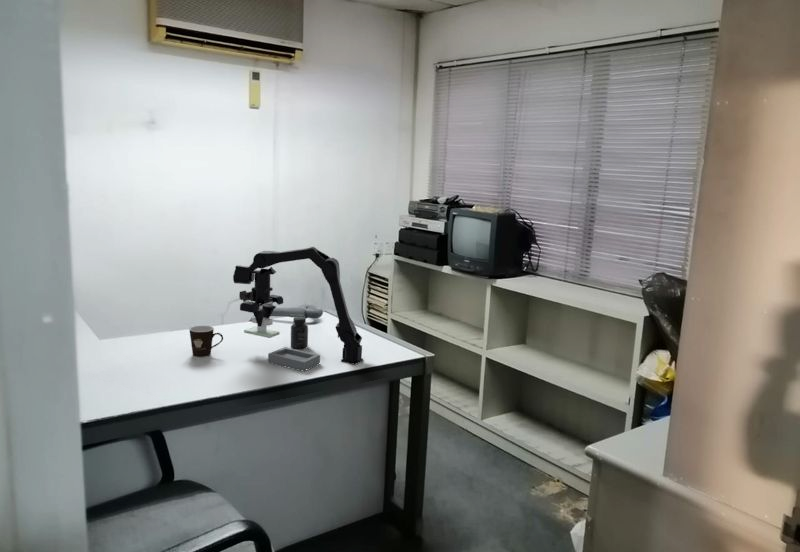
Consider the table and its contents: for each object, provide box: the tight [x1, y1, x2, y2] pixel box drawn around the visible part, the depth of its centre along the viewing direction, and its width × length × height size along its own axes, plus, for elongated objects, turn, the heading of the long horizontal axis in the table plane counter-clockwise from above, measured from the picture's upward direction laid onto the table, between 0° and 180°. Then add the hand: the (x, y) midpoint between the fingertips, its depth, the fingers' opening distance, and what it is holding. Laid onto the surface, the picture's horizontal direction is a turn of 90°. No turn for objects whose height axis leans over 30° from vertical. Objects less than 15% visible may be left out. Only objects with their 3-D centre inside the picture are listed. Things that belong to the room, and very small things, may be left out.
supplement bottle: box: [290, 316, 309, 350], centre depth 241 cm, size 7×7×12 cm
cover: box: [243, 315, 280, 339], centre depth 228 cm, size 12×6×6 cm, turn 64°
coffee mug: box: [188, 325, 224, 358], centre depth 225 cm, size 12×9×10 cm
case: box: [267, 346, 321, 372], centre depth 222 cm, size 16×10×4 cm, turn 64°
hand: (261, 325), depth 228 cm, fingers closed on cover, 2 cm apart
